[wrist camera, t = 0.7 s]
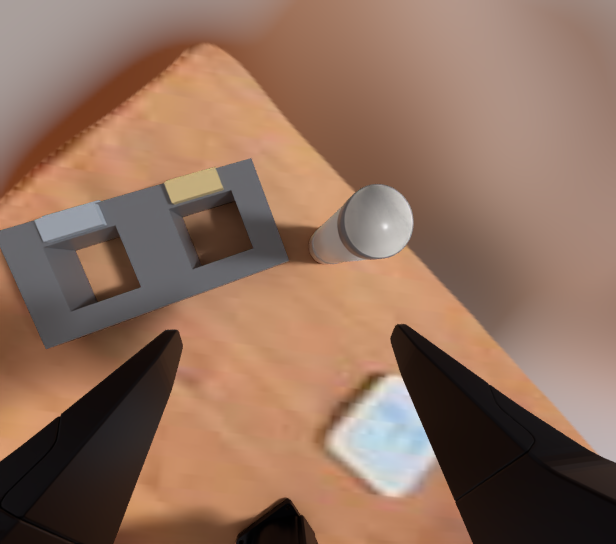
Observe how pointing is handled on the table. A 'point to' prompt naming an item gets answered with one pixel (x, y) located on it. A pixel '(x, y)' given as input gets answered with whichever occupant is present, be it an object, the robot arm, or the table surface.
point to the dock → (136, 250)
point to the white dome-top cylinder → (364, 227)
